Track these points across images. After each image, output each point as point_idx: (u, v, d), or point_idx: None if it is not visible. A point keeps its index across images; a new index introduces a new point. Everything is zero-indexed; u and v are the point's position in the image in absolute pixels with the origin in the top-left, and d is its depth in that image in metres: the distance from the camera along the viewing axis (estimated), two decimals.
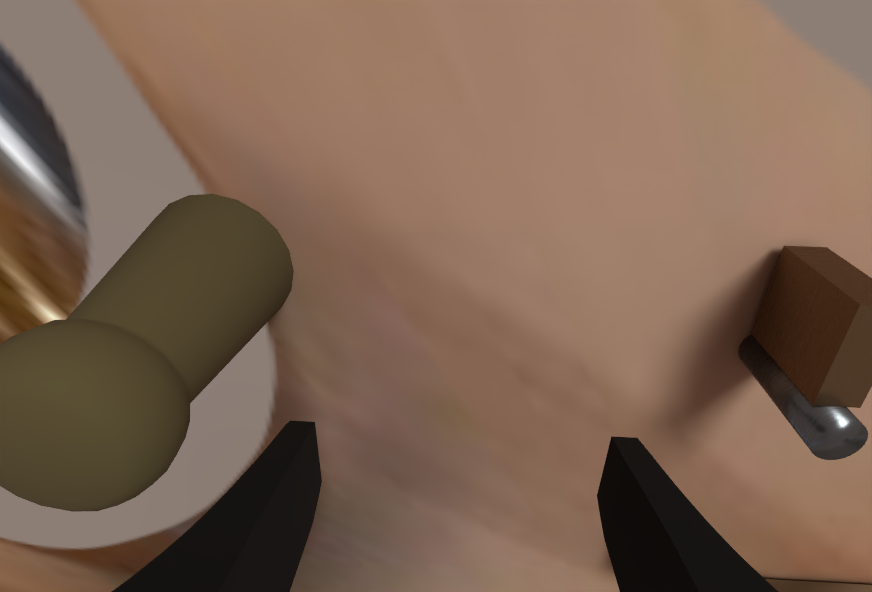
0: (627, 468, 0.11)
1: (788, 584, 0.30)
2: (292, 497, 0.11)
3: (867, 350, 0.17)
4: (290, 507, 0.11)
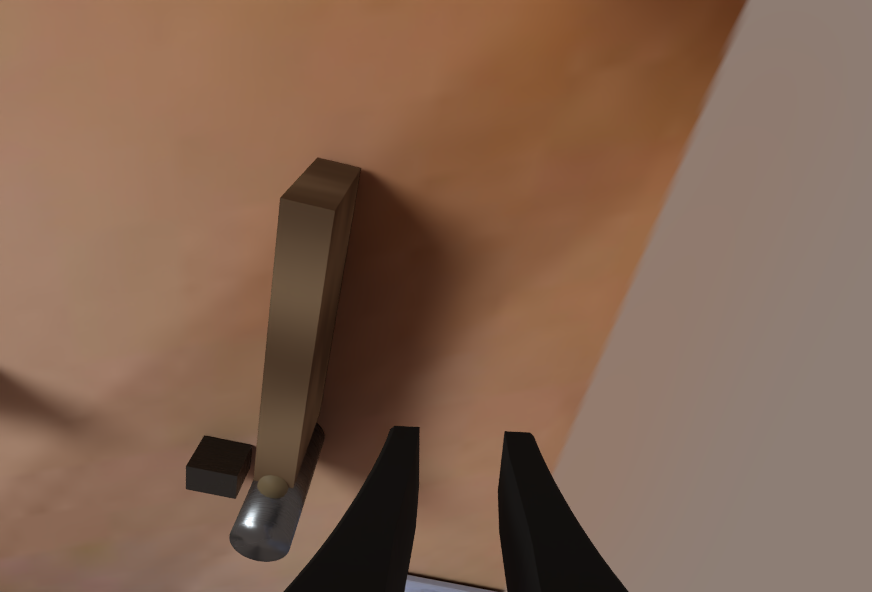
0: (509, 462, 0.11)
1: None
2: (409, 503, 0.11)
3: None
4: (408, 513, 0.11)
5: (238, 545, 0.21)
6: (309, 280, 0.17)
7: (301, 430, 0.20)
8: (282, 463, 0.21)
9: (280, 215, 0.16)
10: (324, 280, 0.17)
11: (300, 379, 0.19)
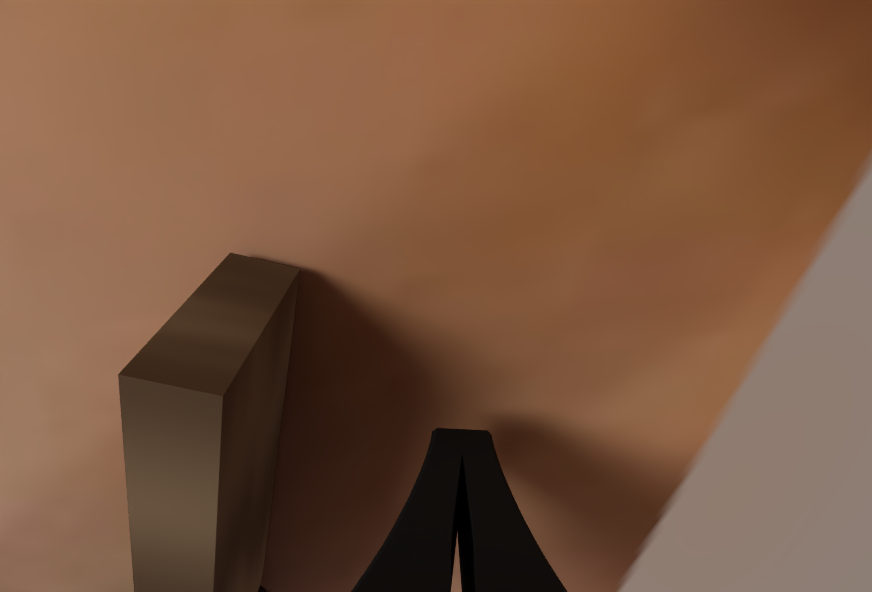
0: (462, 460, 0.11)
1: None
2: (457, 506, 0.11)
3: None
4: (456, 516, 0.11)
5: None
6: (191, 496, 0.09)
7: None
8: None
9: (123, 401, 0.08)
10: (219, 494, 0.10)
11: None
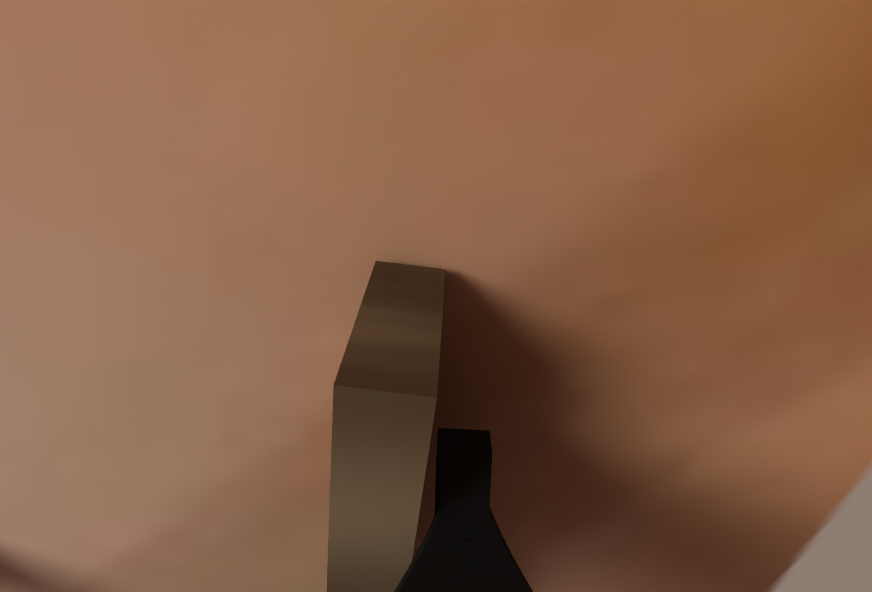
0: (436, 458, 0.11)
1: None
2: None
3: None
4: None
5: None
6: (394, 503, 0.09)
7: None
8: None
9: (336, 412, 0.08)
10: (420, 500, 0.09)
11: None
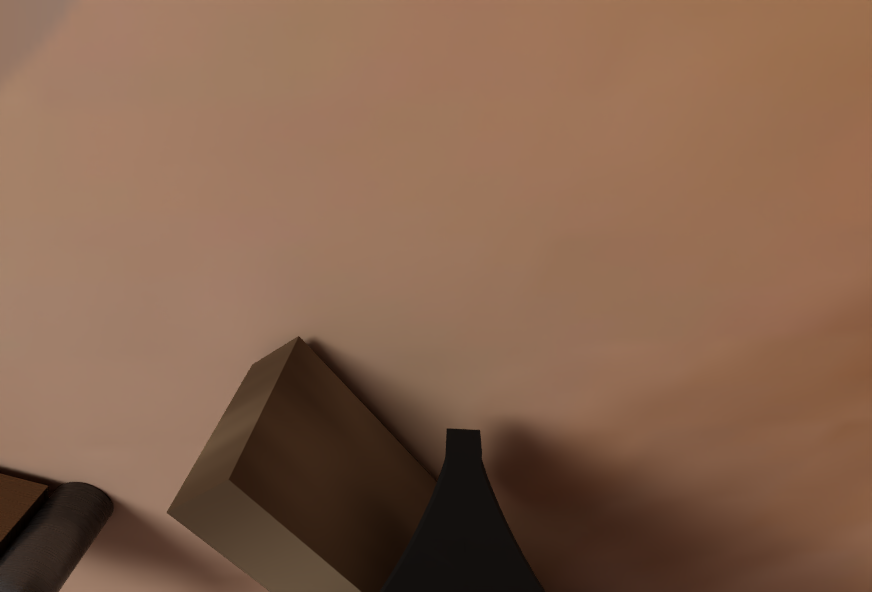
0: (445, 459, 0.11)
1: None
2: None
3: None
4: None
5: None
6: (303, 566, 0.10)
7: None
8: None
9: (190, 528, 0.10)
10: (319, 552, 0.10)
11: None
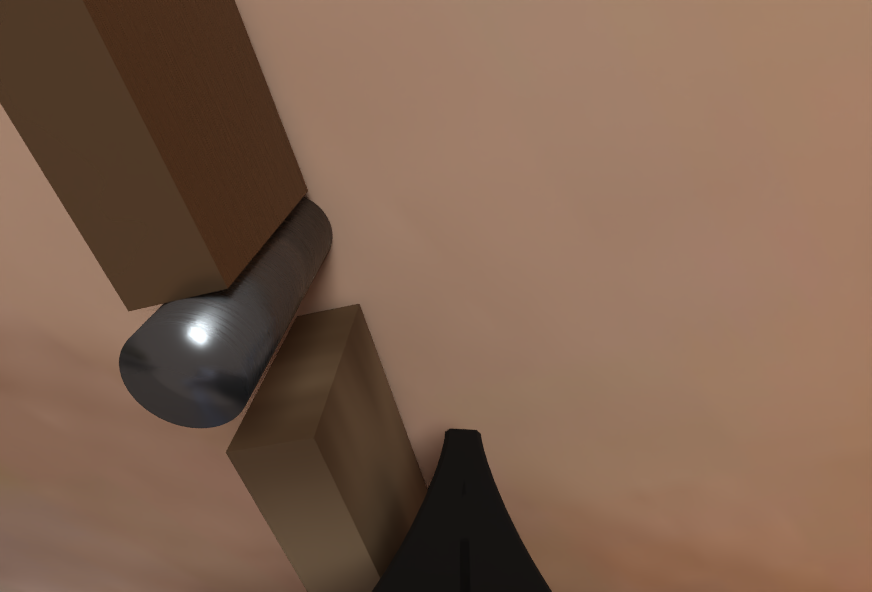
0: (450, 459, 0.11)
1: None
2: None
3: (94, 136, 0.07)
4: None
5: None
6: (336, 538, 0.10)
7: None
8: None
9: (241, 474, 0.09)
10: (358, 529, 0.10)
11: None
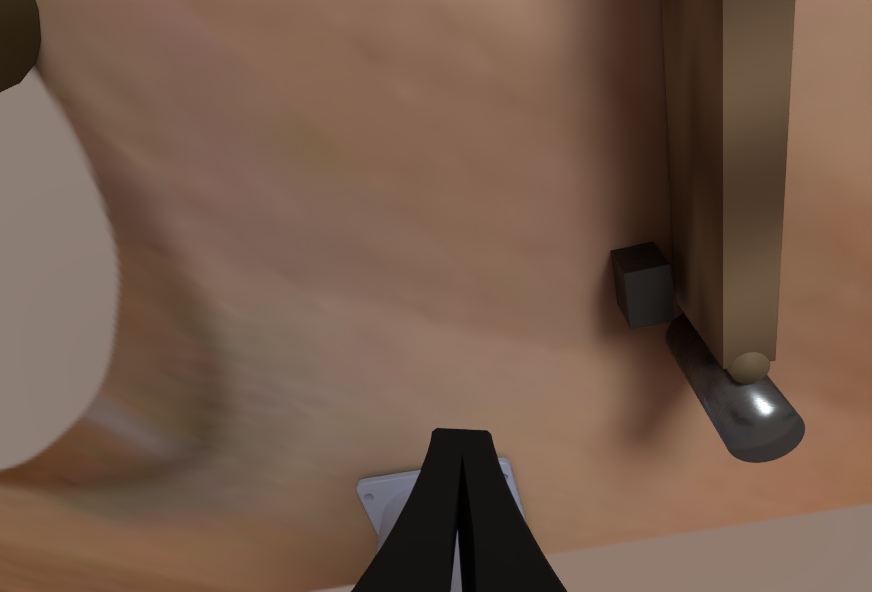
0: (462, 460, 0.11)
1: (673, 211, 0.19)
2: (457, 506, 0.11)
3: None
4: (456, 516, 0.11)
5: (750, 419, 0.17)
6: (772, 52, 0.13)
7: (778, 276, 0.16)
8: (758, 331, 0.17)
9: None
10: (790, 43, 0.13)
11: (772, 203, 0.15)
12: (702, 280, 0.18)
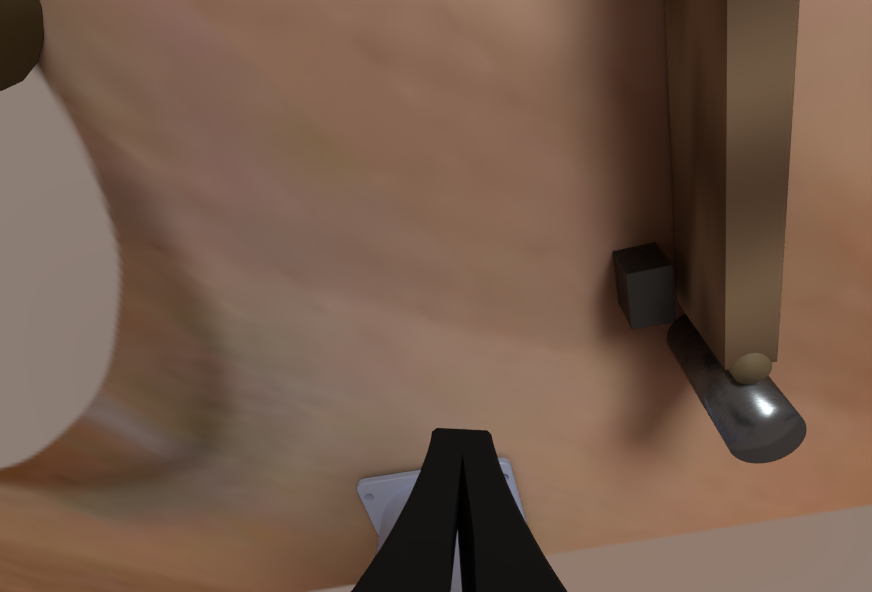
0: (462, 460, 0.11)
1: (676, 212, 0.19)
2: (457, 506, 0.11)
3: None
4: (456, 516, 0.11)
5: (752, 419, 0.17)
6: (776, 53, 0.13)
7: (780, 276, 0.16)
8: (760, 332, 0.17)
9: None
10: (794, 45, 0.13)
11: (774, 204, 0.15)
12: (704, 281, 0.18)
